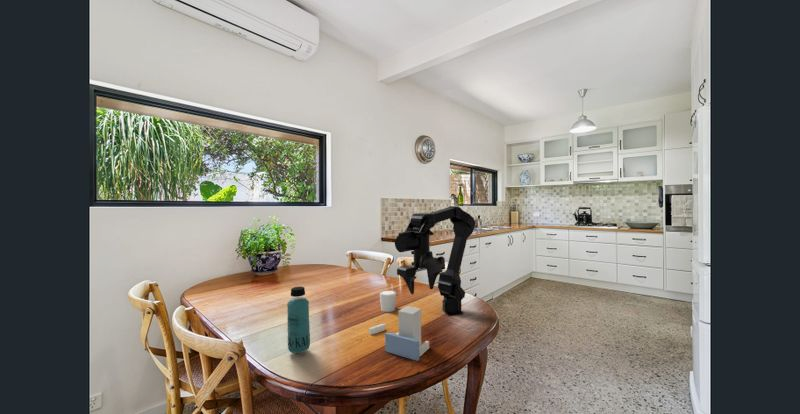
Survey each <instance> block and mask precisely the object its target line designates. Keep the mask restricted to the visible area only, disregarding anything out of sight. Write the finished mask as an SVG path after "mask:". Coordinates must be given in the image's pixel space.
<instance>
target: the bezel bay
mask: <svg viewBox="0 0 800 414" xmlns="http://www.w3.org/2000/svg"><path fill="white" fill-rule="evenodd" d="M384 345H385V346H384V347H385V352H386V353H389V354H393V355H396V356H399V357H403V358H406V359H409V360H412V361H417V362H418V361H419V360H420V357H421V356H423V355H424V353H426V352H427V351H428V350H429V349H430V341H428V340H425V341H424V342H423V343H421V346H420V347H419V340H417V339H414V338H407V337H403V336H399V335H396V334H395V332H385V333H384Z"/></svg>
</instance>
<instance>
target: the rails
mask: <svg viewBox="0 0 800 414" xmlns="http://www.w3.org/2000/svg"><path fill="white" fill-rule="evenodd" d="M385 330H386V324H385V323H381V324H377V325H374V326H371V327H369V328H368V334H369V335H370V336H372V335H375V334H377V333H378V334H379V333H380V332H383V331H385ZM394 333H395V332H394ZM395 334H396V335H399V331H398V332H396V333H395Z"/></svg>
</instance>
